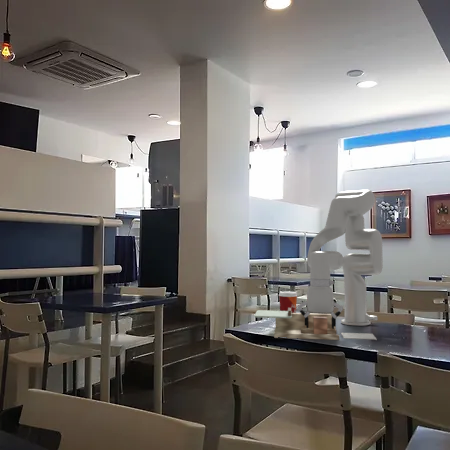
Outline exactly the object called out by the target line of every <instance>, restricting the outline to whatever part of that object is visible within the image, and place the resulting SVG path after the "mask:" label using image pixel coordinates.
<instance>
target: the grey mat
mask: <svg viewBox="0 0 450 450" xmlns="http://www.w3.org/2000/svg"><path fill="white" fill-rule="evenodd" d="M340 334H341V336H342V338H343V339H346V340H347V339H349V340H350V339H351V340H353V339H354V340H375V341H377V339H378V338H377V337H376V336H375V335H374V334H373V333H366V332H365V333H363V332H362V333H361V332H359V333H356V332H341V333H340Z"/></svg>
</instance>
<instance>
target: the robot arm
mask: <svg viewBox="0 0 450 450" xmlns="http://www.w3.org/2000/svg"><path fill="white" fill-rule="evenodd" d="M375 203H376V198H375V193H374V192H373V191H372V190H370V189H359V190H358V189H356V190H345V191H340V192H337V193H336V194H335V196H334V198H333V199H332V200H331V202H330V205H329V210H328V214H327V217H326V222H325V225H324V228H322V229H321V230H320V231H319V232H318V233H317V234H316V235H315V236H314V237H313V239H312V240H311V241H310V245H309V248H308V251H307V257H306V258H307V260H306V261H307V263H306V264H307V265H308V267H309V268H310V270H309V271H310V274H309V275H310V276H309V277H310V279H309V280H310V281H309V283H310V286H309V285H308V288H307V292H306V300H305V301H303V302H301V303H300V304H298V305H296V308H297V309H298V310H299V313H301V314H302V315H303V316H304V317H305V326H306V327H307V328H309V318H308V315H309V314H310V313H314V314H331V315H332V329H334V327H336V328H337V323H336V322H337V318H338V317H339V316H340V315H341V314H342V313H341V312H342V311H343V309H344V318H343V319H341V320H340V323H341V324H343V325H346V326H347V325H348V326H356V327H357V326H361V327H362V326H363V327H364V326H369V325H371V321H378V316H377V315H369V314H368V313H367V283H366V281H365V280H364V278H363V276H379V275H380V274H381V273H382V271H383V262H384V261H383V238H382V234H381V232H380V230H378V229H375V228H365V218H364V217H365V216H364V215H365V214H367V213H368V212H370V211H371V210H372V208H373V207H374V206H375ZM342 236H344V239H345V240H344V241H345V242H344V243H345V246H346V248H347V249H349V250H350V251H369V253H362V252H361V253H359V252H354V253H353V252H352V253H347V254H345V255H344V256H343V254H342V253H341V252H339V251H336V250H321V249H322V247H323V246H324V245H326V244H327V243H329V242H331V241H333V240H336V239H338V238H339V237H342ZM341 268H342V271H343V272H342V273H343V278H344V279H343V280H344V306H342V305H341V304H339V303H337V302H335V301H334V294H333V286H332V285H334V284H335V281H334V280H331V271H337V270H340V269H341ZM303 307H306V311H305V310H303ZM334 307H335V308H337V311H336V312H334V310H335V309H334Z"/></svg>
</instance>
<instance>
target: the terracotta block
mask: <svg viewBox="0 0 450 450" xmlns="http://www.w3.org/2000/svg"><path fill="white" fill-rule="evenodd" d="M313 332H314V334H327V317H313Z"/></svg>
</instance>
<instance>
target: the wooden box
mask: <svg viewBox="0 0 450 450" xmlns="http://www.w3.org/2000/svg"><path fill="white" fill-rule="evenodd" d="M313 317H327V334H314V332H313ZM308 318H309V328H307V327H306V326H305V317H304V316H303V315H302V314H301V313H300V312H296V313H291V318H274V319H275V323H274V324H275V327H274V334H273V337H274V338H275V339H279V338H278V337H287V338H286V339H297V338H298V339H301V340H329V341H331V340H332V341H333V340H334V341H339V340H340V334H337V333H338V332H337V326H336V327H334V329H332V315H331V314H330V313H310V314H309V315H308Z"/></svg>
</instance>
